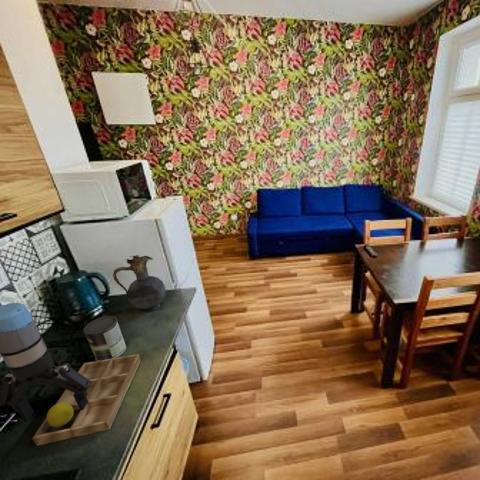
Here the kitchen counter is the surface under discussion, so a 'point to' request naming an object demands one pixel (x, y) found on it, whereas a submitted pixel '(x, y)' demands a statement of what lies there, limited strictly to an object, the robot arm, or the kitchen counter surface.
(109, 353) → the coffee can
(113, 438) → the kitchen counter surface
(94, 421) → the wooden compartment tray
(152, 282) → the pitcher
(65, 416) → the lemon
